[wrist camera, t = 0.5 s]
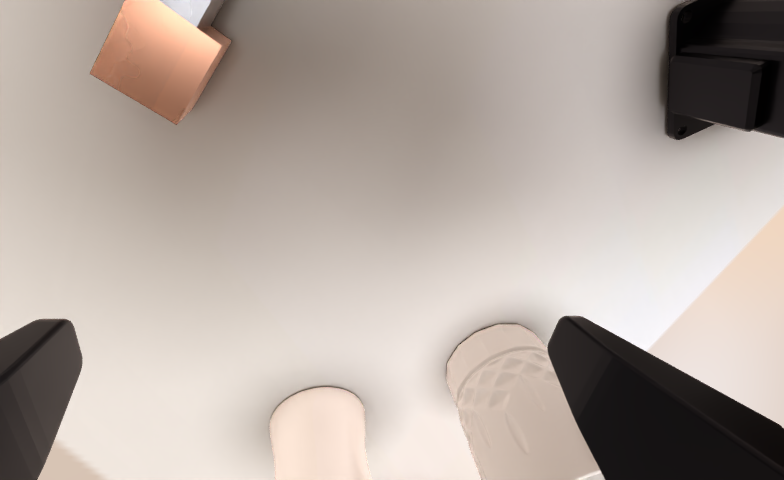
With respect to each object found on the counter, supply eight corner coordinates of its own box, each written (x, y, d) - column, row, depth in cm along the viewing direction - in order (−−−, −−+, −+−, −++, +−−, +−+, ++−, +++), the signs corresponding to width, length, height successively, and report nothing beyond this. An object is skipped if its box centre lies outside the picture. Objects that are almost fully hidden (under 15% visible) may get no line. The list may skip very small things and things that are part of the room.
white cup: (438, 326, 24) (520, 492, 16) (554, 306, 26) (685, 448, 17) (434, 410, 28) (497, 580, 20) (535, 388, 30) (634, 537, 21)
